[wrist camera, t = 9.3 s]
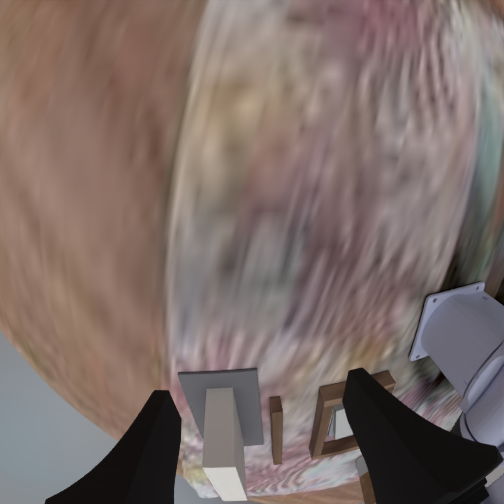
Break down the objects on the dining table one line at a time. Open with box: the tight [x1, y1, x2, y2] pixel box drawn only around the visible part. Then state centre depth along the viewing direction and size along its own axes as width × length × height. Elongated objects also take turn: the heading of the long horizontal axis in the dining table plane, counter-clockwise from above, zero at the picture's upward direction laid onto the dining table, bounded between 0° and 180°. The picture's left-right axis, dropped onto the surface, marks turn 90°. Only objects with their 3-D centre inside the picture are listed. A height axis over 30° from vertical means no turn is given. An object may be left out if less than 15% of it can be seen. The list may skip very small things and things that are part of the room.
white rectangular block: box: [202, 387, 247, 501], centre depth 20 cm, size 2×10×8 cm, turn 4°
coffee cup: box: [356, 455, 376, 504], centre depth 26 cm, size 8×8×15 cm
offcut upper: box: [333, 403, 353, 440], centre depth 26 cm, size 3×7×1 cm, turn 12°
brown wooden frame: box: [270, 371, 396, 465], centre depth 26 cm, size 13×14×2 cm
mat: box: [178, 368, 264, 446], centre depth 24 cm, size 7×14×1 cm, turn 4°
